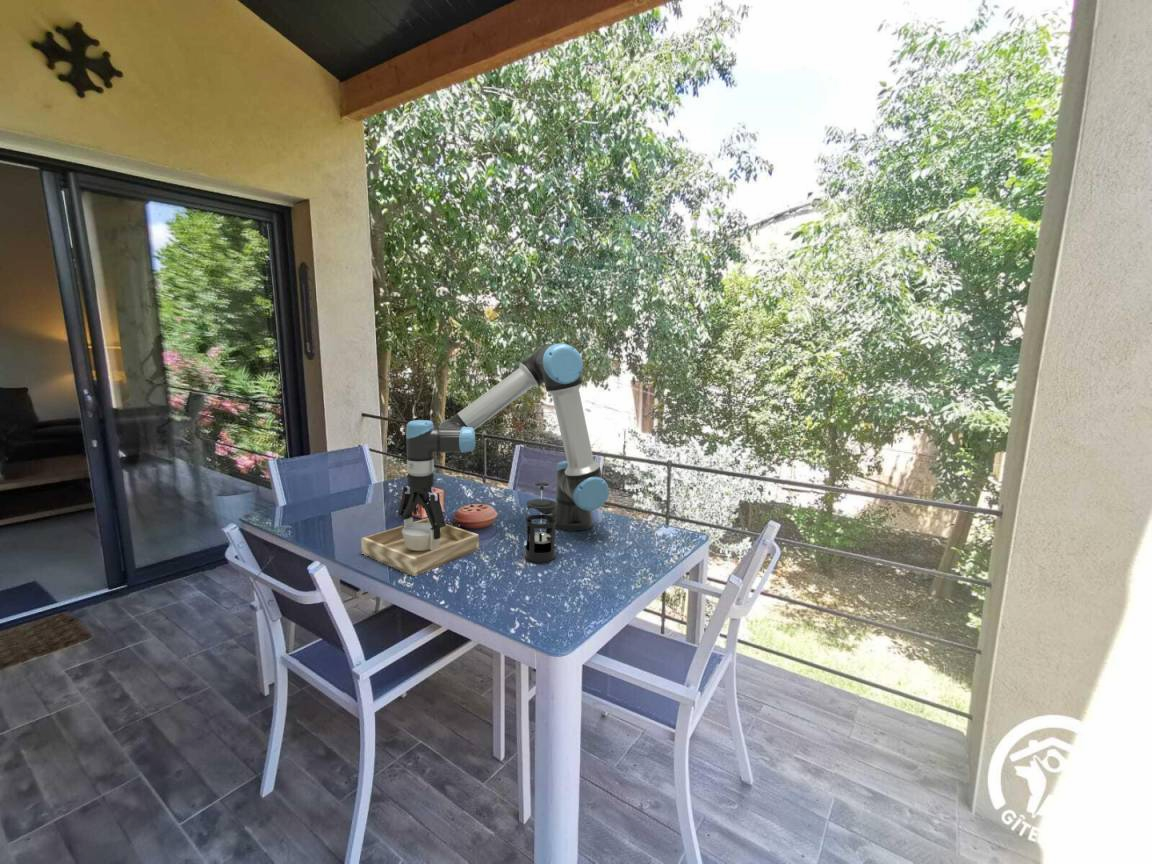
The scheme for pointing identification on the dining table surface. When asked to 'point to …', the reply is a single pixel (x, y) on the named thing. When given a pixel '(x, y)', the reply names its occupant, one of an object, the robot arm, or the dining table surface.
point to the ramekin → (417, 536)
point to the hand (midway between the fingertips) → (421, 544)
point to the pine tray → (397, 555)
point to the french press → (540, 539)
